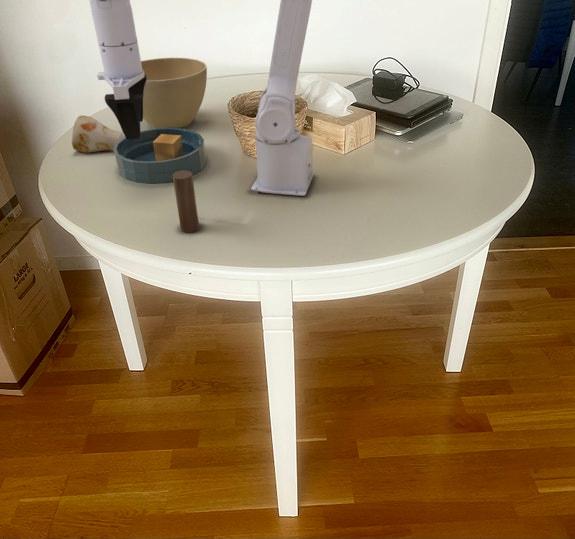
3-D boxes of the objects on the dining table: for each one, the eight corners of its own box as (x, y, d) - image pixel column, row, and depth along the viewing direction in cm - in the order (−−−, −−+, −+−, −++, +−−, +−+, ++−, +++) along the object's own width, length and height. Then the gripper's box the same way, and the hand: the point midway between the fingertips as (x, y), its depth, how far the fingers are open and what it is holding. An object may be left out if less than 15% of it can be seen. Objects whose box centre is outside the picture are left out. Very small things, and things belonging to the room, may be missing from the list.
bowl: (217, 152, 104) (215, 130, 102) (188, 190, 91) (184, 166, 89) (141, 146, 107) (137, 125, 105) (102, 182, 94) (96, 158, 92)
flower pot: (223, 113, 122) (218, 58, 115) (193, 143, 108) (185, 83, 101) (152, 108, 126) (143, 54, 119) (114, 136, 112) (101, 77, 105)
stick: (201, 224, 82) (194, 171, 77) (195, 233, 80) (187, 179, 74) (184, 222, 82) (176, 169, 77) (178, 232, 80) (169, 178, 75)
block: (183, 155, 102) (181, 135, 100) (176, 163, 99) (173, 143, 97) (164, 153, 103) (161, 133, 100) (156, 162, 100) (152, 141, 97)
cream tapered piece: (127, 158, 103) (90, 119, 96) (91, 175, 107) (53, 138, 100) (137, 135, 108) (102, 96, 101) (102, 152, 112) (66, 115, 105)
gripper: (96, 33, 85) (114, 116, 93) (83, 55, 73) (104, 148, 81) (141, 30, 86) (155, 113, 93) (135, 52, 74) (151, 144, 82)
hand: (134, 129), depth 87 cm, fingers open, 7 cm apart
